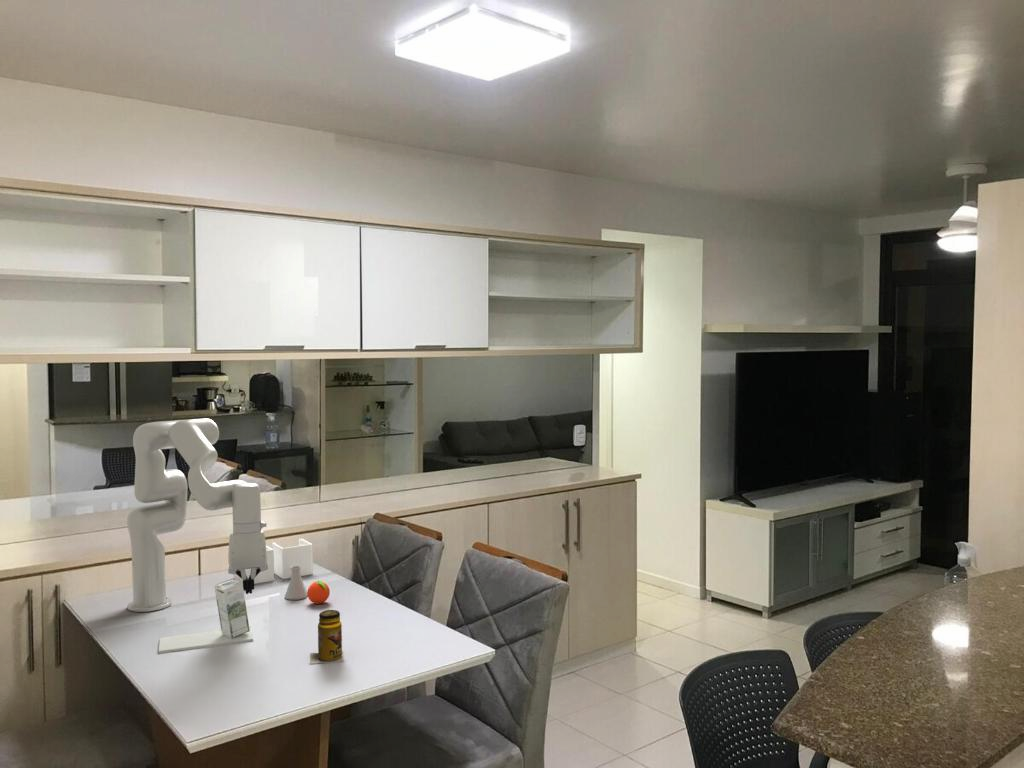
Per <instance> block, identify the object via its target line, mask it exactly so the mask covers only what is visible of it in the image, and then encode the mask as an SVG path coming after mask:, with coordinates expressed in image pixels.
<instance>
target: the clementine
mask: <svg viewBox="0 0 1024 768" xmlns="http://www.w3.org/2000/svg"><path fill="white" fill-rule="evenodd" d="M330 592H331V591H330V587H329V586H328V584H327V583H325V582H324V581H320V580H318V581H314V582H313V583H311V584H310V585H309V586H308V589H307V595H308V596H307V598H308V600H309V601H310V602H311V603H313V604H316V605H320V604H323V603H326V601H327V600H328V599H329V598H330Z"/></svg>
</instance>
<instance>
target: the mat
mask: <svg viewBox="0 0 1024 768" xmlns="http://www.w3.org/2000/svg"><path fill="white" fill-rule="evenodd" d="M249 629H250V631H249V632H246V633H244V634H242V635H239V636H237V637H234V638H232V639H231V638H229V637H227V636H225V635H223V634H222V631H221V629H220V630H214V631H213V630H212V631H211V630H210V631H205V632H197V633H196V632H195V633H187V634H179V635H172V636H171V635H170V636H164V637H159V644H158V654H163V653H172V652H177V651H185V650H186V651H187V650H194V649H201V648H202V647H203V648H208V647H210V646H211V647H217V646H226V645H233V644H240V643H248V642H249V643H250V642H254V637H253V634H252V629H251V626H249Z"/></svg>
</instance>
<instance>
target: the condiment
mask: <svg viewBox="0 0 1024 768" xmlns="http://www.w3.org/2000/svg"><path fill="white" fill-rule="evenodd" d="M318 616H319V619H318V621H319V622H318V624H317V648H318V650H317V651H318V652H310V654H309V664H310V665H313V664H324V663H325V664H327V663H328V664H330V663H338V662H339V663H340V662H344V660H345V657H344V650H343V642H342V641H343V635H342V633H343V632H342V630H343V628H342V627H343V624H342V621H341V613H340V611H338V610H337V609H328V610H323V611H321V612H320V613H319V615H318Z"/></svg>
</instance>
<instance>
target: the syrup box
mask: <svg viewBox="0 0 1024 768" xmlns="http://www.w3.org/2000/svg"><path fill="white" fill-rule="evenodd" d="M214 592H215V598H216V604H217V610H218V616H219V617H218V618H219V624H220V630H221V631H222V634H223V635H225V636H227V637H229V638H231V639H232V638H234V637H237V636H239V635H242V634H244V633H246V632H249V631H250V629H249V627H250V624H249V617H248V616H249V615H248V612H247V605H246V604H247V603H246V597H245V591H244V589H243V584H242V583H240V582H238V581H236V580H235V579H231V580H228V581H225V582H223V583H220V584H217V585H215V586H214Z"/></svg>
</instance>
